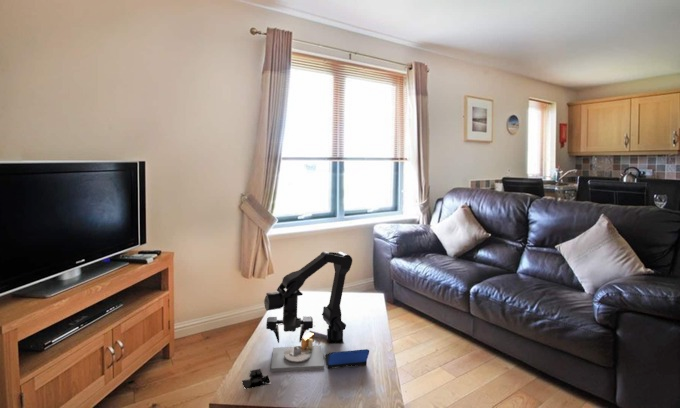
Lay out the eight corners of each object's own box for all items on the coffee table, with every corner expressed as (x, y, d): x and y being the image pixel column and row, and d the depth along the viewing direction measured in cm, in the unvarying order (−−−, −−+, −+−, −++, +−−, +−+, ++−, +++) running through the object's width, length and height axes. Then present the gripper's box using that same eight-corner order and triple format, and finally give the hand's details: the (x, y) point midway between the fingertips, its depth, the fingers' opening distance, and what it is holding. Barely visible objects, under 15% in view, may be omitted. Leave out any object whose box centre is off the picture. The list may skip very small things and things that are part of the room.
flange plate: (321, 359, 144) (321, 348, 143) (286, 364, 140) (286, 353, 139) (313, 342, 156) (313, 332, 156) (281, 346, 152) (281, 336, 152)
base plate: (321, 348, 155) (321, 335, 154) (324, 369, 140) (324, 354, 139) (273, 351, 152) (273, 337, 152) (271, 372, 138) (271, 357, 137)
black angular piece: (239, 393, 126) (239, 381, 125) (237, 381, 133) (236, 369, 132) (275, 385, 131) (275, 373, 130) (271, 374, 137) (271, 362, 137)
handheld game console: (361, 353, 152) (361, 332, 151) (369, 372, 139) (370, 349, 138) (324, 356, 150) (324, 335, 148) (329, 376, 136) (329, 352, 135)
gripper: (265, 314, 140) (265, 353, 142) (314, 314, 143) (312, 351, 145) (267, 303, 151) (266, 338, 153) (312, 303, 154) (311, 338, 156)
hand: (289, 342), depth 152 cm, fingers open, 8 cm apart
